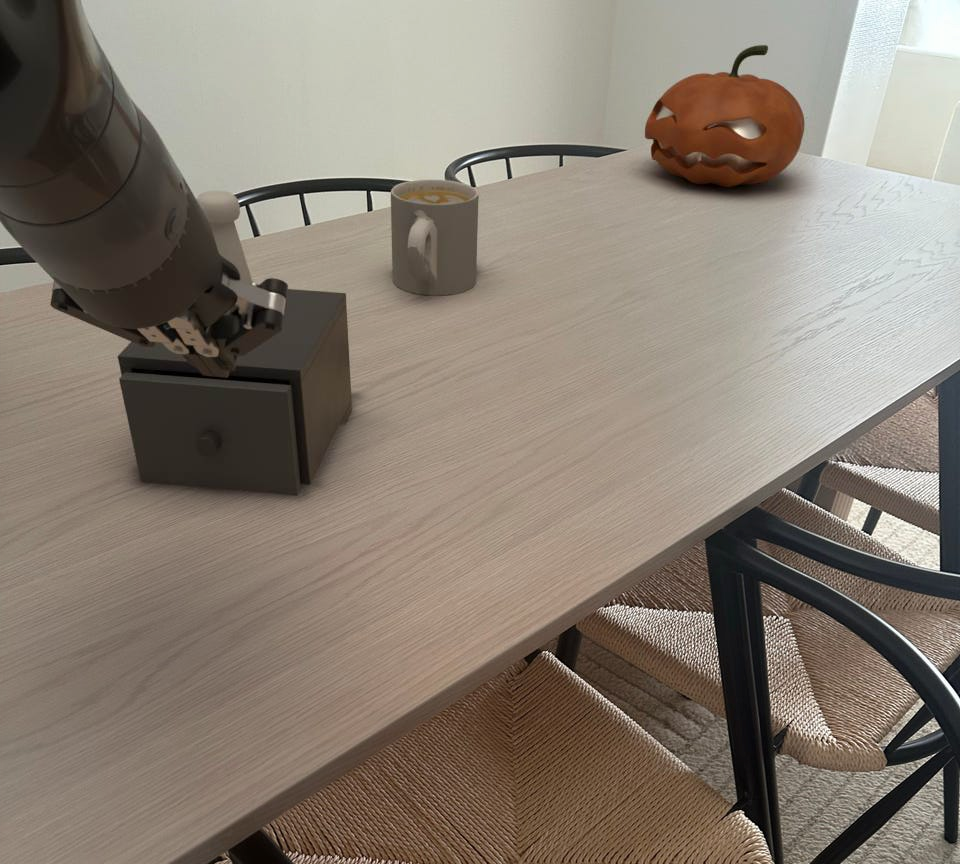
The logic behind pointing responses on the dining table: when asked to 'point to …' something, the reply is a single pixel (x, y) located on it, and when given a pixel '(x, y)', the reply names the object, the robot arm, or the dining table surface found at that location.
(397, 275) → the coffee mug
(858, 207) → the dining table surface
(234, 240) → the salt shaker
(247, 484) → the dark grey drawer
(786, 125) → the pumpkin
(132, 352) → the dark grey drawer box
